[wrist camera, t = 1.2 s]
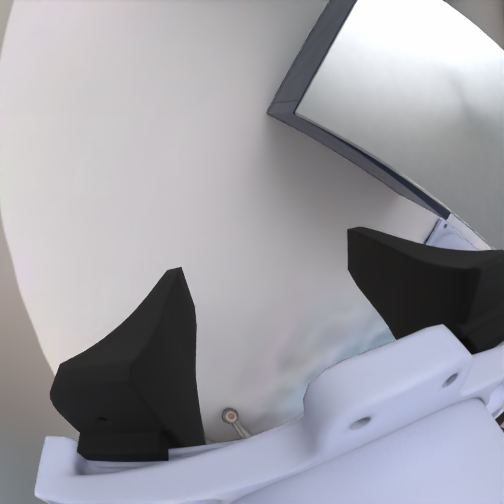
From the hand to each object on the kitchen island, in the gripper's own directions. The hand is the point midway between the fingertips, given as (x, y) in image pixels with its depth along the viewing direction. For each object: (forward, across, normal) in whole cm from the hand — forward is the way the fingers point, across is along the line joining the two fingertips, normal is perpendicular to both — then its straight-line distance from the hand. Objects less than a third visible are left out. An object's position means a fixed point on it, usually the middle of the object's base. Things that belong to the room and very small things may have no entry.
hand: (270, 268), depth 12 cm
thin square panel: (+1, -12, -6) cm, 14 cm away
